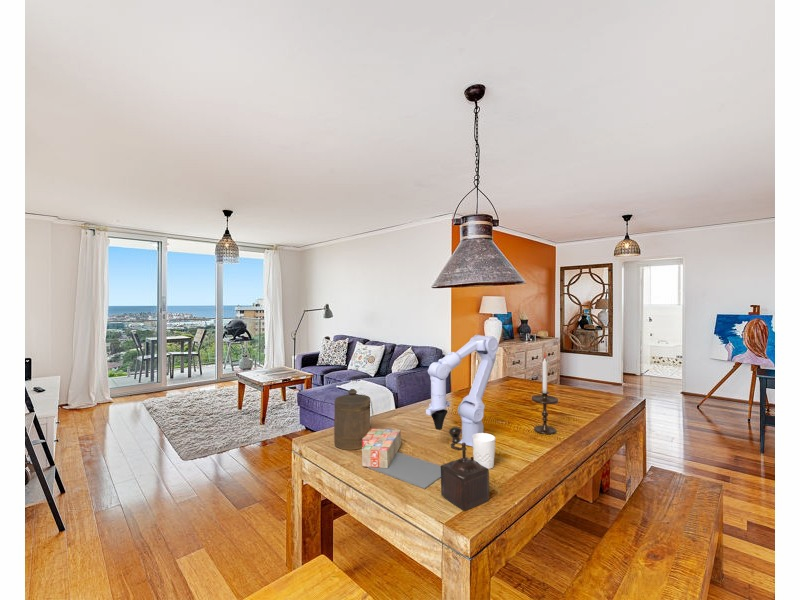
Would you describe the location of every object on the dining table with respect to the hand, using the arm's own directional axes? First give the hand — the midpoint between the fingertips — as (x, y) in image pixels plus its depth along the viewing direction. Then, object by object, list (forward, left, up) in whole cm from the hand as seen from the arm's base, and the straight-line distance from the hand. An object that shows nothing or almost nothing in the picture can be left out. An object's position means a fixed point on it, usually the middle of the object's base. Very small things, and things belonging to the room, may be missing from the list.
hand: (438, 429), depth 146 cm
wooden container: (+14, -32, -9) cm, 36 cm away
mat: (+19, 0, -8) cm, 21 cm away
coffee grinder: (+23, +22, -9) cm, 33 cm away
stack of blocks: (+14, -10, -5) cm, 18 cm away
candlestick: (-46, +26, -9) cm, 53 cm away
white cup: (+1, +19, -9) cm, 21 cm away
